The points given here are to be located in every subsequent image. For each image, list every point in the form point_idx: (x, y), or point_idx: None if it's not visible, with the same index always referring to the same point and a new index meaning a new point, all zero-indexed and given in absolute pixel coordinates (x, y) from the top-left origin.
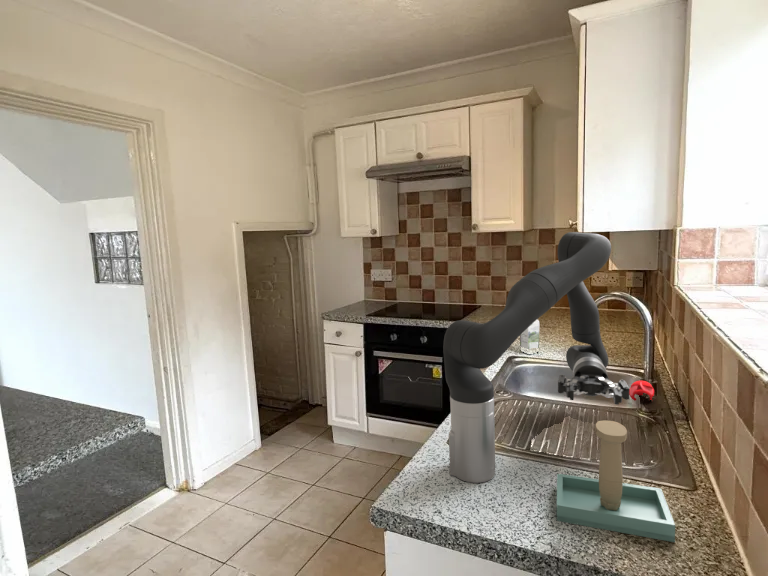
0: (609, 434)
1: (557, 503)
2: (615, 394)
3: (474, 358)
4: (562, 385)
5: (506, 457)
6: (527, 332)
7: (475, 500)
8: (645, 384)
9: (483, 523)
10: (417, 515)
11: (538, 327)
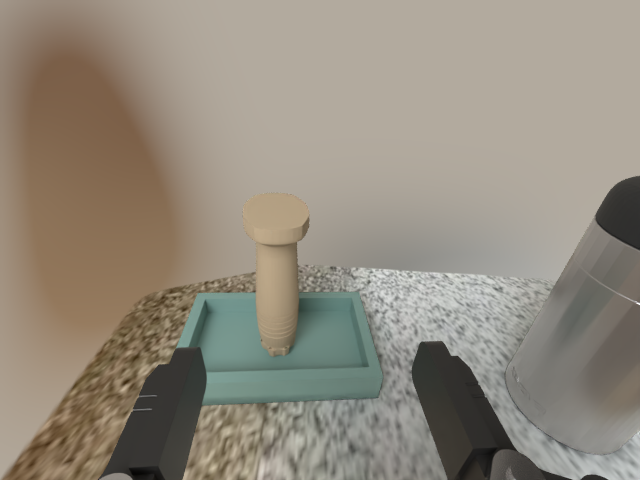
0: (283, 194)
1: (358, 294)
2: (194, 348)
3: None
4: (561, 477)
5: None
6: None
7: (478, 320)
8: None
9: (436, 285)
10: (511, 279)
11: None
